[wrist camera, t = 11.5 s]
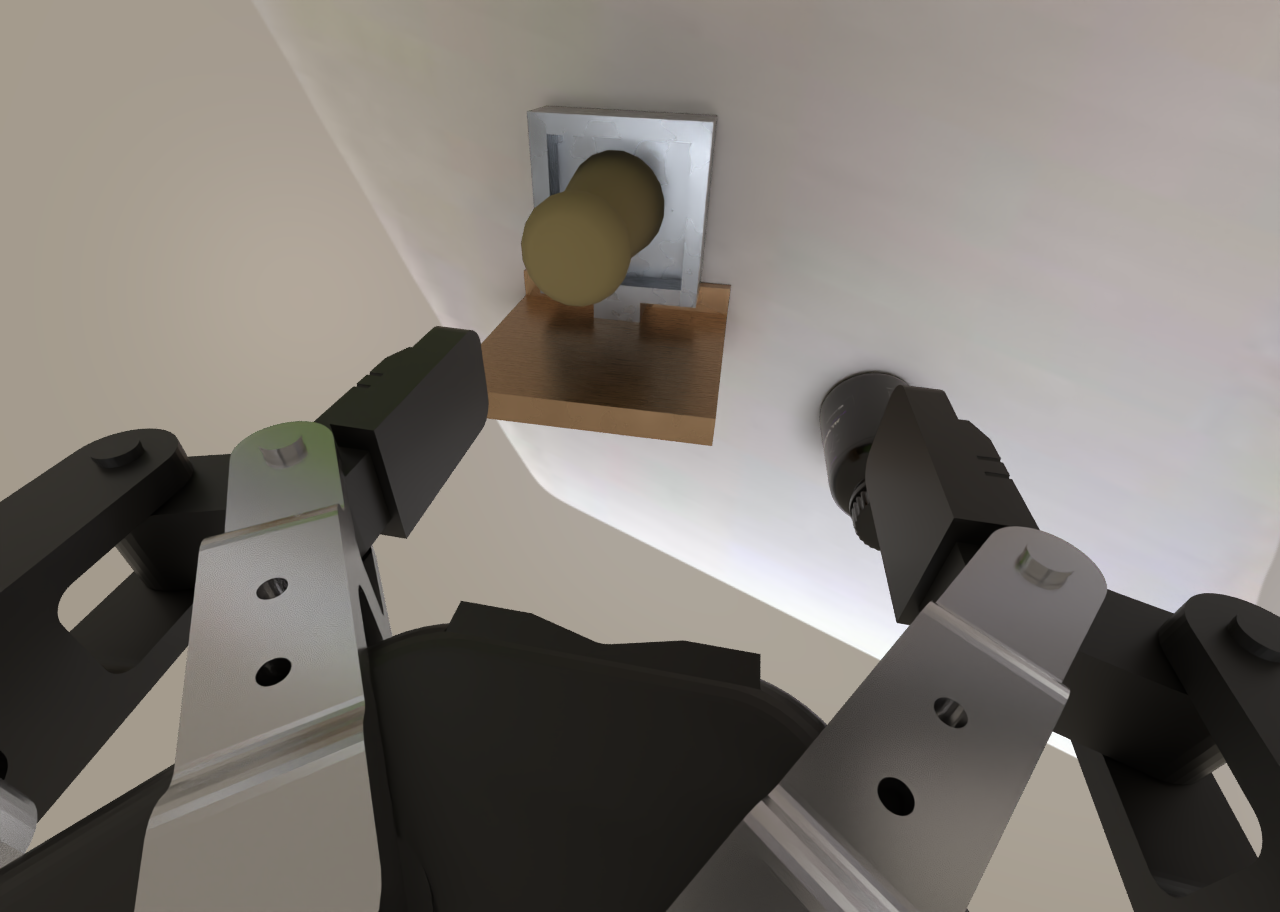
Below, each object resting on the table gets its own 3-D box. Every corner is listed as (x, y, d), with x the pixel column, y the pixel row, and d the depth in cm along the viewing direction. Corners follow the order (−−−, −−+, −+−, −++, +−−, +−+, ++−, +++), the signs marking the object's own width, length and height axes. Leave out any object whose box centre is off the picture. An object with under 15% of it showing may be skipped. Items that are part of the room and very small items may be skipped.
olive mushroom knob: (562, 244, 36) (500, 308, 27) (572, 138, 32) (504, 174, 24) (654, 266, 36) (621, 337, 27) (674, 162, 32) (643, 207, 23)
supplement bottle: (805, 388, 41) (820, 494, 31) (905, 355, 38) (954, 459, 29) (833, 460, 44) (854, 575, 34) (927, 434, 41) (978, 551, 32)
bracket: (513, 104, 33) (390, 134, 22) (752, 117, 32) (750, 157, 20) (533, 334, 42) (452, 439, 31) (721, 353, 40) (708, 472, 29)
